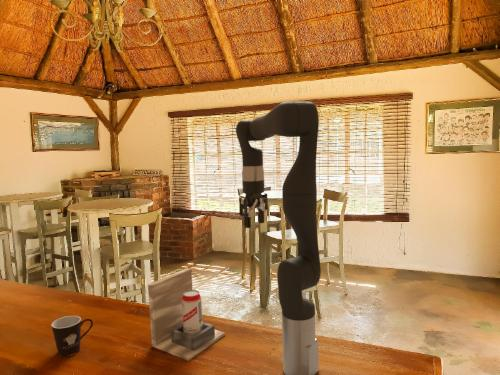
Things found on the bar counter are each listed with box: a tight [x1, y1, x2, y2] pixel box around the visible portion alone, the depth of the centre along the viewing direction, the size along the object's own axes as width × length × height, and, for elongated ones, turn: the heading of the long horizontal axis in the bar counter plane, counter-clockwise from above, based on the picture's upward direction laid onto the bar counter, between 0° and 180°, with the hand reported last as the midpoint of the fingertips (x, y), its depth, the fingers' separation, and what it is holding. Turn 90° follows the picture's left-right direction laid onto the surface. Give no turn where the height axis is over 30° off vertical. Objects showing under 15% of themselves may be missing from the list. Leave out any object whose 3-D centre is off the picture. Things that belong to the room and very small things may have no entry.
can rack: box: [147, 267, 226, 362], centre depth 129 cm, size 16×18×21 cm
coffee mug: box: [50, 315, 94, 357], centre depth 126 cm, size 12×9×10 cm
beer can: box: [182, 289, 203, 336], centre depth 128 cm, size 6×6×16 cm
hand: (254, 225), depth 137 cm, fingers open, 8 cm apart
